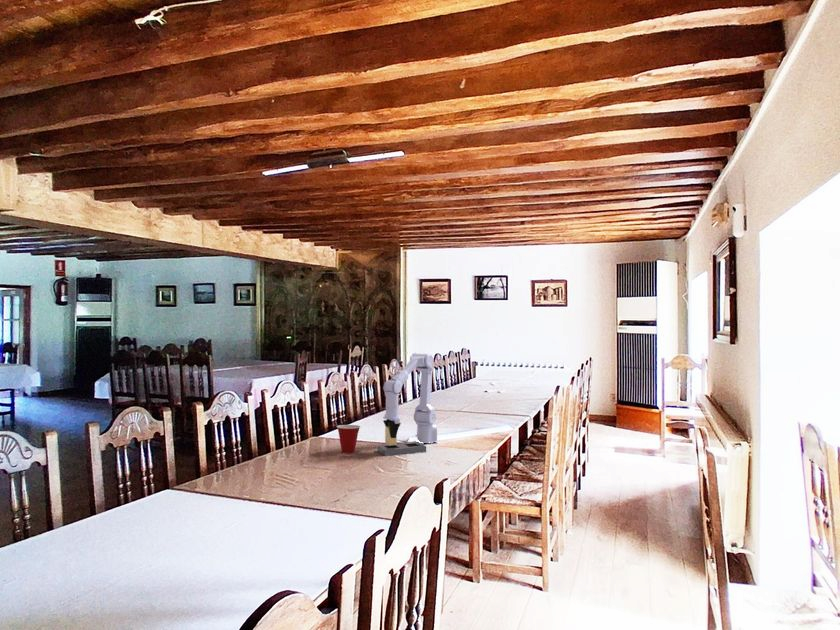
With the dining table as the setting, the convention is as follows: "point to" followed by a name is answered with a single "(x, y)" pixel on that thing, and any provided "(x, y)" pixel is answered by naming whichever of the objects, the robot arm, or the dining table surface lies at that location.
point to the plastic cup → (348, 437)
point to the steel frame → (401, 448)
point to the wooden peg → (389, 437)
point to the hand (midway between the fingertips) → (391, 436)
